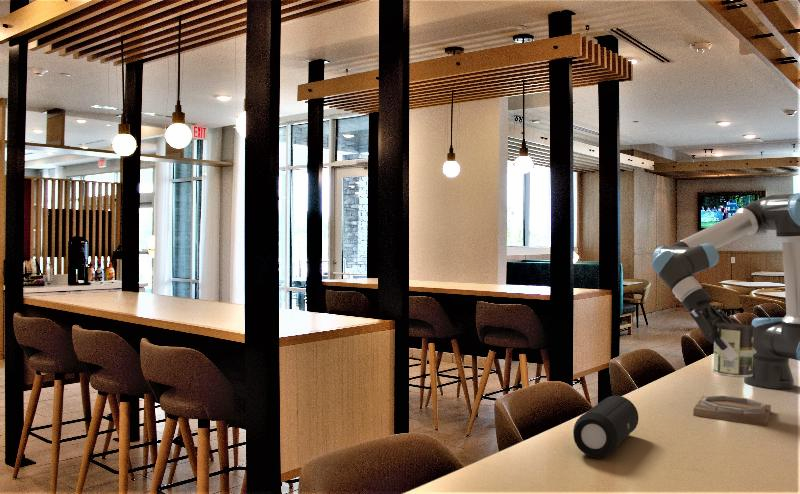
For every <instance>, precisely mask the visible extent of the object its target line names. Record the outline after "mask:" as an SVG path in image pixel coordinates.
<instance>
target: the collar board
mask: <svg viewBox="0 0 800 494" xmlns="http://www.w3.org/2000/svg"><path fill="white" fill-rule="evenodd" d="M771 406H772V405H771V404H768V403H767V404H766V403H764V402H760V401H758V400H755V399H751V398H745V397H740V396H733V395H723V394H721V395H703V396H701V398H700V400H699V401H697V403H696V404H695V406H694V407H693V415H692V416H696V417H702V418H708V419H716V420H722V421H723V420H725V421H729V422H731V421H732V422H736V423H737V422H738V423H742V424H743V423H745V424H752V425H756V426H757V425H759V426H765V427H767V425H768V422H769V419H770V415H771V412H772V411H771V409H772V408H771Z"/></svg>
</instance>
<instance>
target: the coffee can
mask: <svg viewBox="0 0 800 494" xmlns="http://www.w3.org/2000/svg"><path fill="white" fill-rule="evenodd" d="M715 326H716V328H717V330H718V332H719V334H720V338H721V337H722V336H723V337H724V338H725V339H726V341H727V342H728V343H729V344H730V345H731V347H732V348H733V349H734V350H735V351H736V352H737V354H738V355H739V356H738V357H736V358H735V359H734V360H733V361H730V360H729V359H728V358H727V357H726V356H725V354H724V353H723V352H722V351H721V350H720V348H719V347H718V346H717V345H716V343H715V342H713V358H712V359H713V361H712V363H713V364H712V365H713V366H712V374H713V373H714V374H716V375H719V376H721V377H722V376H723V377H729V378H743V379H744V378H747V377H752V376H753V375H752V370H753V341H754V327H755V326H753V325H752V324H748V323H741V322H735V323H730V322H717V323H715Z"/></svg>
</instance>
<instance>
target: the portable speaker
mask: <svg viewBox="0 0 800 494" xmlns="http://www.w3.org/2000/svg"><path fill="white" fill-rule="evenodd" d="M638 425H639V413H638V410H637V407H636V406H635V404H634V403H633V402H632V401H631V400H630V399H628V398H626V397H624V396H622V395H611V396H608V397H606V398H604V399H603V400H601V401H600V402H598V403H597V404H596V405H594V406H593V407H592V408H591V409H589V410H588V411H586V412H585V413H584V414H582V415H581V416H579V417H578V418H577V420H576V422H575V423H574V426H573V430H572V432H573V434H572V435H573V436H572V437H573V440H574V444H575V445H576V447H577V449H579V451H580V452H582V453H583V454H585V455H586V456H589V457H591V456H592V457H593V458H596V457H601V458H604V457H607V456H610V455H611V454H612V453H613V452H614V450H615V449H617V447H618V446H620V444H621V443H623V441H624V440H625V439H626V438H627V437H628V436H629V435H630V434H631V433H632V432H634V431H635V429H636V428H637V426H638Z"/></svg>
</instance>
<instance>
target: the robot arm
mask: <svg viewBox="0 0 800 494" xmlns="http://www.w3.org/2000/svg"><path fill="white" fill-rule="evenodd" d="M763 231H776V233H775V235H776V238H777V239H778V240H780V241H781V243H782V244H781V245H782V248H781V249H782V261H783V263H782V265H783V276H784V280H783V281H784V293H785V294H784V295H785V297H784V298H785V309H786V310H785V311H786V314H785V315H784V317H754V319H752V321H751V325H753V326H755V327H754V341H753V370H752V375H753V376H752V377H747V378H743V382H744V383H745V384H747V385H750V386H754V387H759V388H766V389H777V390H788V389H793V388H795V380H794V376H793V373H792V371H791V367H790V364H789V363H790V361H789V360H790V359H791V360H795V361H799V362H800V192H797V193H788V194H787V193H785V194H771V195H767V196H764V197H761V198H759V199H757V200H755V201H753V202H752V201H751V202H750V203H748V204H746V205H744V206H742V207H740V208H738V209H737V210H736V211H735V212H734V214H733V215H731V216H728V217H727V218H725V219H723V220H720V221H718V222H716V223H714V224H712V225H710V226H708V227H706V228H704V229H702V230H700V231H698V232H696V233H694V234H691V235H690V236H689V235H688V237H685V238H684V239H681V240H679V241H677V242H675V243H673V244H671V245H662V246H661V245H660V246H659V247H656V249H654V251H653V254H652V261H651V267H652V269H653V271H654V272H655V273H656V275H657V276H658V277H659V278H660V280H661V281H663V283H664V284H665V286H666V287H668V288H669V290H670V291H671V292H672V293H673V295H674V297H675V299H677V300H679V302H681V305H682V306H683V307H684V308H685V310H687V312H688V313H689V315H690V317H691V318H693V320H694V322H696V325H697V327H699V330H700V331H701V332H702V334H703V336H704V337H705V339H706V340H707V341H708V342H709V344H711V345H712V344H714V342H715V343H716V345H717V346H718V347H719V348H720V350H721V351H722V352H723V353H724V354H725V356H726V357H727V358H728V359H729V360H730V361H733V360H734V359H735V358H736V357H738V356H739V355H738V354H737V352H736V351H735V350H734V349H733V348H732V347H731V345H730V344H729V343H728V342H727V341H726V339H725V338H724V337H723V336H722V337H721V338H720V334H719V332H718V330H717V328H716V326H715V323H717V322H730V323H736V322H734V320H733V319H731V317H730V316H728V315H727V314H726V313H725V312H724V311H723V310H722V308H721V307H720V306H716V307H715V306H713V305H711V304H710V302H711V299H712V297H711V296H710V294H709V293H708V292H707V291H706V290H705V289H704V288H703V286H702V284H700V283H699V282H698V280H697V279H696V278H695V277H694V275H697V274H699V273H701V272H703V271H706V270H710V269H711V268H713V267H714V266H716V265H717V264H719V261H720V255H719V251H718V250H717V249H719V248H721V247H723V246H725V245H727V244H729V243H731V242H733V241H736V240H738V239H739V238H741V237H744V236H746V235H749V236H751V235H754V234H756V233H759V232H763Z"/></svg>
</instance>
